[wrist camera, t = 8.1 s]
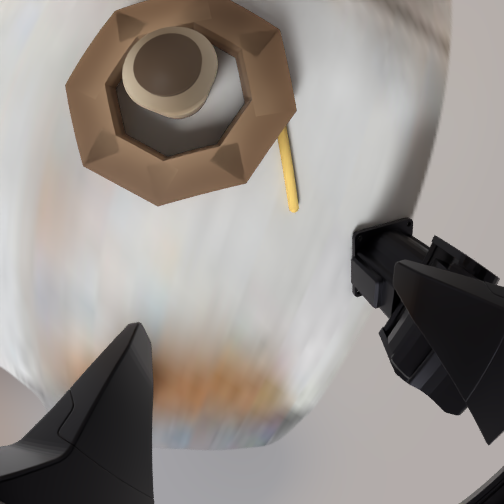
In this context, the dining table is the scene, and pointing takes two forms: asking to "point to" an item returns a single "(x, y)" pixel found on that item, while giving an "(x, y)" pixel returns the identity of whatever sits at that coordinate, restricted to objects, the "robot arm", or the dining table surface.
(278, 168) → the dining table surface
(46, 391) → the dining table surface
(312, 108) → the dining table surface
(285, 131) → the thin yellow rod
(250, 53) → the brown octagonal ring
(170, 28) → the beige wooden peg
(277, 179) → the dining table surface
